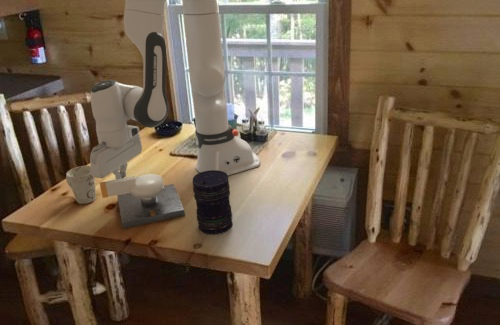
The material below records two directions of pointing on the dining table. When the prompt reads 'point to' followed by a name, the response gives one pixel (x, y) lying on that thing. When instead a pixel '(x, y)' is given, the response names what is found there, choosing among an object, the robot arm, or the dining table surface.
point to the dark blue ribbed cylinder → (212, 202)
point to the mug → (82, 184)
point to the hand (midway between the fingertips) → (121, 178)
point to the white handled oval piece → (134, 186)
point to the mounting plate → (150, 207)
